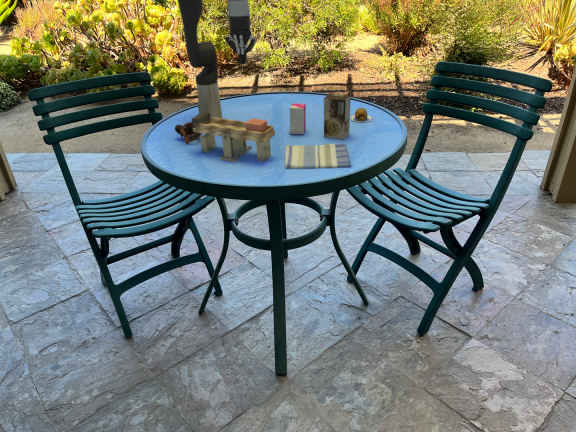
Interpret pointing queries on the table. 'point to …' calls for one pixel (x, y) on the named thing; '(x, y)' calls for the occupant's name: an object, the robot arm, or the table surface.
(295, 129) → the supplement box
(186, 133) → the pottery mug
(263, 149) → the stand
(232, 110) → the table surface
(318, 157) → the dish towel
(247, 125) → the block
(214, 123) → the beam
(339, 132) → the coffee box
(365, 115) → the hamburger
